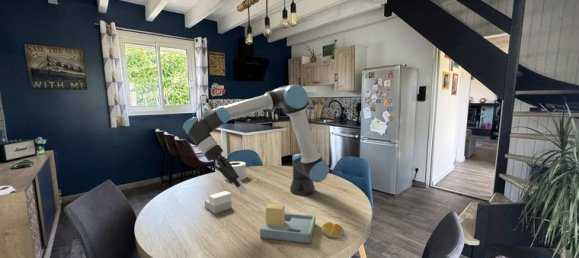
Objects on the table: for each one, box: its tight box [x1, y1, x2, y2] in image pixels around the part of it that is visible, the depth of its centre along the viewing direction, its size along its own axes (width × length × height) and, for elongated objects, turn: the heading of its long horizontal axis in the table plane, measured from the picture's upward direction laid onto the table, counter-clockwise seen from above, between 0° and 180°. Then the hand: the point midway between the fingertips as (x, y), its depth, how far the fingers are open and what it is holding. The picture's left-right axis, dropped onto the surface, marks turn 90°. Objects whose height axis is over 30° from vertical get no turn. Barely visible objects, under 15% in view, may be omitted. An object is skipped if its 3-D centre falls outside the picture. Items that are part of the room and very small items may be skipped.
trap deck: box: [259, 212, 316, 245], centre depth 102 cm, size 20×16×4 cm
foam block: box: [204, 190, 233, 214], centre depth 125 cm, size 10×10×8 cm
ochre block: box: [265, 203, 286, 227], centre depth 103 cm, size 7×4×8 cm, turn 77°
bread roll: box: [320, 221, 345, 239], centre depth 100 cm, size 8×9×4 cm
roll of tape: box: [223, 161, 247, 182], centre depth 175 cm, size 16×15×11 cm
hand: (244, 191), depth 105 cm, fingers closed
